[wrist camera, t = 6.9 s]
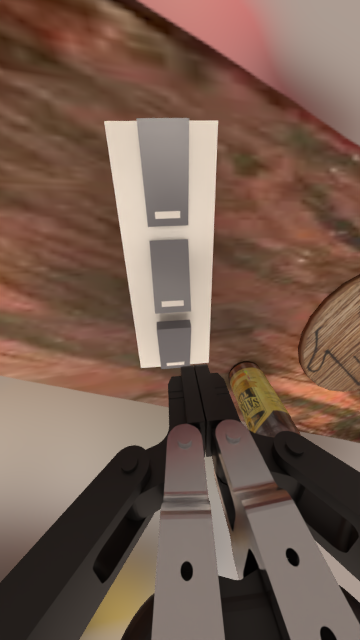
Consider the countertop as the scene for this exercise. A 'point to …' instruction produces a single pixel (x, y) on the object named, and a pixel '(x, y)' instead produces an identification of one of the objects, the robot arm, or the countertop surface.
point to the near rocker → (165, 169)
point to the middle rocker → (170, 275)
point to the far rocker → (174, 343)
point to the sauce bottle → (259, 401)
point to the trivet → (334, 340)
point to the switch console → (166, 234)
